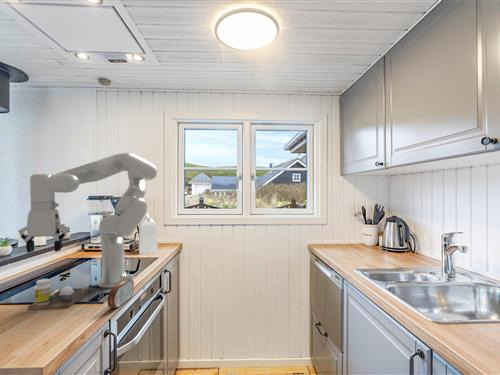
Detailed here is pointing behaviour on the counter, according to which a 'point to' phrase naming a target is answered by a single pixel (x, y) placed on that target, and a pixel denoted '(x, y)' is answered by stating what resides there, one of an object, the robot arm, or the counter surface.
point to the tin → (120, 293)
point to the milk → (147, 236)
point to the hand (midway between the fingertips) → (44, 251)
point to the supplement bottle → (42, 292)
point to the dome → (66, 291)
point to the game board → (61, 299)
